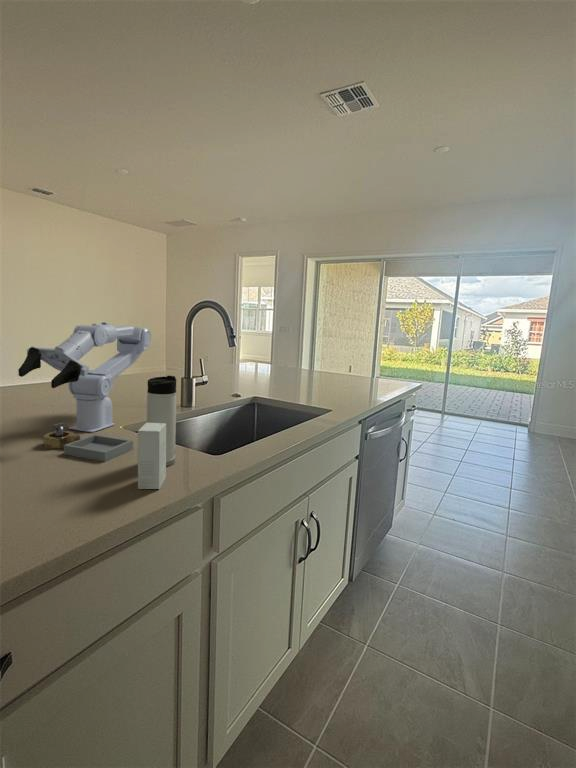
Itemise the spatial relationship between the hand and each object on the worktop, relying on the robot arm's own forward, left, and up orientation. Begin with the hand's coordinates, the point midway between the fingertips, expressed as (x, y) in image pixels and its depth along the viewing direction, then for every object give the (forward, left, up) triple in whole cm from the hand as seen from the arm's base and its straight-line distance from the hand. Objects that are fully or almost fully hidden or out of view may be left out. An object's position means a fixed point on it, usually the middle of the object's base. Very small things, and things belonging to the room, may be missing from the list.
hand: (36, 378), depth 91 cm
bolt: (-5, +1, -17) cm, 18 cm away
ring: (-5, +2, -17) cm, 18 cm away
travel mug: (-5, +30, -17) cm, 35 cm away
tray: (-5, +13, -17) cm, 22 cm away
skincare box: (+6, +35, -17) cm, 39 cm away
